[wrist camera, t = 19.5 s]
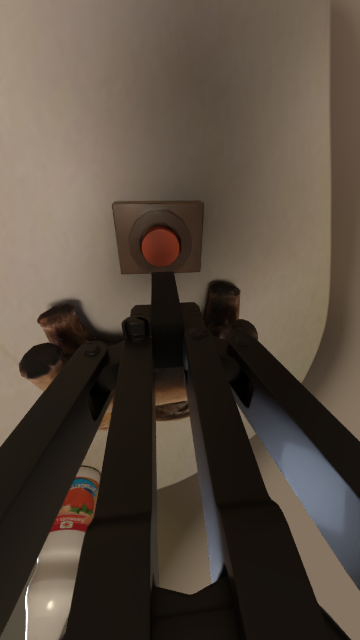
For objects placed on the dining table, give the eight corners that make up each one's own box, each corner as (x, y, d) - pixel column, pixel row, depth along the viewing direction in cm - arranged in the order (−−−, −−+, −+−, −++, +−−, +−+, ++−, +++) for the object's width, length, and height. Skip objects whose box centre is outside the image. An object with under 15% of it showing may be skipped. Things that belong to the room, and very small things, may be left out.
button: (178, 225, 26) (179, 228, 24) (178, 261, 28) (179, 266, 26) (140, 225, 25) (140, 229, 24) (143, 262, 27) (143, 267, 26)
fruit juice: (60, 482, 60) (1, 683, 37) (62, 464, 56) (-5, 680, 32) (98, 484, 62) (65, 674, 39) (103, 466, 58) (68, 669, 34)
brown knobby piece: (-31, 392, 21) (73, 479, 37) (290, 327, 24) (258, 435, 40) (17, 307, 31) (83, 406, 47) (241, 269, 34) (231, 374, 50)
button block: (200, 200, 28) (207, 205, 24) (197, 266, 32) (202, 277, 29) (114, 201, 27) (108, 206, 24) (123, 268, 31) (119, 280, 28)
